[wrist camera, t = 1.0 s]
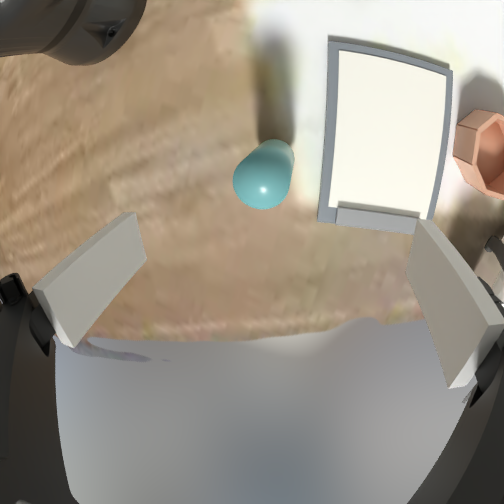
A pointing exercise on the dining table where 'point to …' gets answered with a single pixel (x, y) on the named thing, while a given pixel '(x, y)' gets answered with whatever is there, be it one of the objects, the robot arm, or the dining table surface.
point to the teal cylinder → (265, 175)
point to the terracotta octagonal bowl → (481, 151)
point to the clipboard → (383, 138)
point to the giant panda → (503, 252)
